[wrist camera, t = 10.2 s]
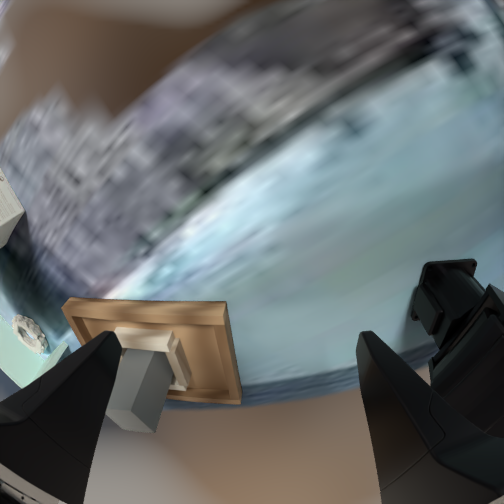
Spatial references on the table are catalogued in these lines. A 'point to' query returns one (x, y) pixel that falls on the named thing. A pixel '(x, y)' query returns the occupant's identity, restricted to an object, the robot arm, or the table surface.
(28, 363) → the right angle wall
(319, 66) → the table surface
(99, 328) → the wooden tray
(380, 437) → the robot arm
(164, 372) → the plug
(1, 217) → the supplement box
